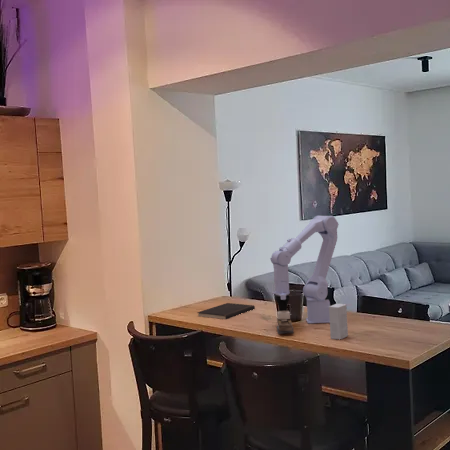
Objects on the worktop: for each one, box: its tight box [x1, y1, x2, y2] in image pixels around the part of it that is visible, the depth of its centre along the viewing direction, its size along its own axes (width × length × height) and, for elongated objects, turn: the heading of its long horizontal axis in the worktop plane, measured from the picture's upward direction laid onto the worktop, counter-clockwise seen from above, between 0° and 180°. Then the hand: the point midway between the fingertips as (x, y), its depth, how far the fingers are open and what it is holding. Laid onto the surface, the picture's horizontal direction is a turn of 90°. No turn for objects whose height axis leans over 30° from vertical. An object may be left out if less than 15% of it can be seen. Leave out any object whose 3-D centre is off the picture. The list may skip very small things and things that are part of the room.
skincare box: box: [329, 303, 349, 341], centre depth 213 cm, size 6×4×12 cm
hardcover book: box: [196, 302, 256, 320], centre depth 267 cm, size 16×23×2 cm
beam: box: [276, 317, 294, 335], centre depth 227 cm, size 6×14×4 cm, turn 178°
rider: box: [277, 310, 291, 321], centre depth 231 cm, size 5×4×3 cm
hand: (283, 314), depth 234 cm, fingers closed
